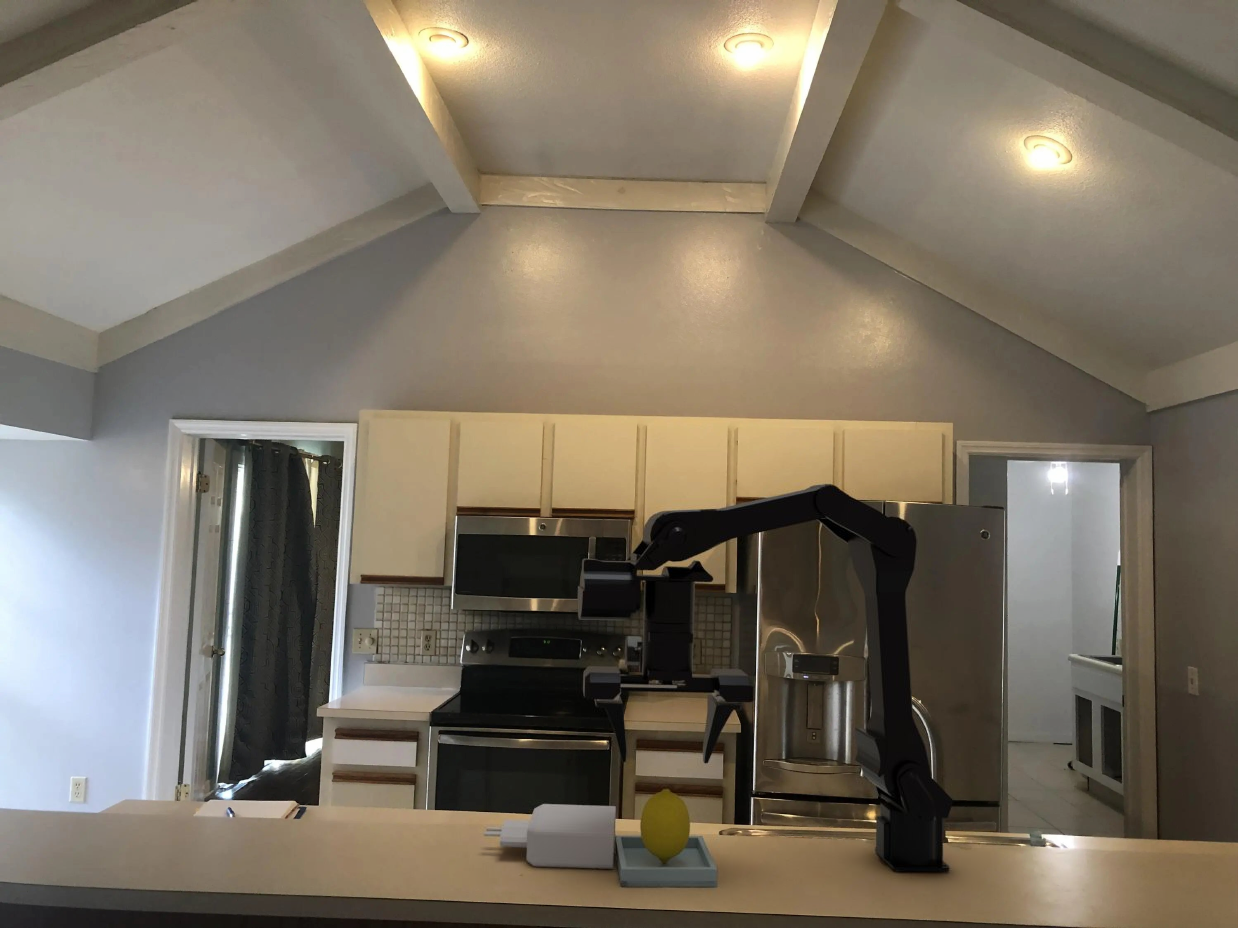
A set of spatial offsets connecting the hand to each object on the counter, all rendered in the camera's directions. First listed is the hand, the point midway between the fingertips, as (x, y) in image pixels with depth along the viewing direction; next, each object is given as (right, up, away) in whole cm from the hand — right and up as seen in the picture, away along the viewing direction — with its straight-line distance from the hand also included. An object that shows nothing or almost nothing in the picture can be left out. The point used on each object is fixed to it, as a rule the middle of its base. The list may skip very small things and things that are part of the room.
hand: (664, 761), depth 100 cm
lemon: (0, -11, -1) cm, 11 cm away
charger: (-13, -12, +3) cm, 18 cm away
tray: (0, -12, -1) cm, 12 cm away
